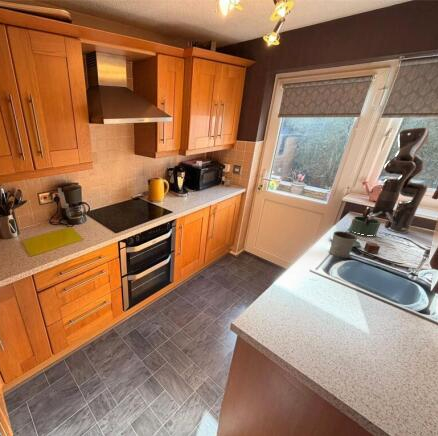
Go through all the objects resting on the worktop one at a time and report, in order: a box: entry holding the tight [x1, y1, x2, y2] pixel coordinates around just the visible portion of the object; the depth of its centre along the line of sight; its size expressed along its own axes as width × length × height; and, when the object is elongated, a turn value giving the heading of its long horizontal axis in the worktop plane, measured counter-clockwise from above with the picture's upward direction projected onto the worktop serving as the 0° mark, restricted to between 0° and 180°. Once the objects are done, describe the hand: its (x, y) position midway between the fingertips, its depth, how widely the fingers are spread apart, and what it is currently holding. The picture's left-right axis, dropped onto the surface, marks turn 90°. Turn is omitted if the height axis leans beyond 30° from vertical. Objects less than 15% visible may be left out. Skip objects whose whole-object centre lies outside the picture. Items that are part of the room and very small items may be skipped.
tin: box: [348, 215, 381, 238], centre depth 155 cm, size 14×14×10 cm
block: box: [363, 241, 381, 255], centre depth 132 cm, size 5×5×5 cm
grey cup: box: [329, 230, 358, 259], centre depth 128 cm, size 10×10×12 cm
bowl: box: [329, 231, 361, 248], centre depth 142 cm, size 15×15×7 cm
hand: (376, 226), depth 129 cm, fingers open, 8 cm apart
